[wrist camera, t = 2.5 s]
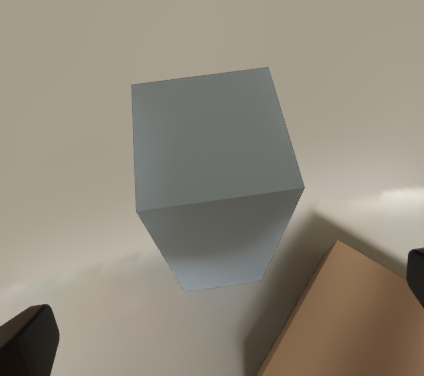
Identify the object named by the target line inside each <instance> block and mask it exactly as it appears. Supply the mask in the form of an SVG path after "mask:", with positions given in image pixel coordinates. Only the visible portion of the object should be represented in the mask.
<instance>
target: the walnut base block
mask: <svg viewBox="0 0 424 376" xmlns="http://www.w3.org/2000/svg"><path fill="white" fill-rule="evenodd" d="M256 376H424V309H423V307H422V306H421V304H420V303H419V301H418V300H417V298H416V297H415V295H414V294H413V292H412V291H411V290H410V288H409V286H408V283H407V280H406V279H404V278H402V277H401V276H399V275H397V274H396V273H394V272H392V271H390V270H389V269H387V268H385V267H384V266H382V265H380V264H378V263H377V262H375V261H373V260H372V259H370V258H368V257H366V256H365V255H363V254H361V253H360V252H358V251H356V250H354V249H353V248H351V247H349V246H348V245H346V244H344V243H343V242H341V241H339V240H337V241H336V242H335V243H334V244H333V245H332V246H331V247H330V248H329V249H328V250H327V251H326V252H325V254H324V256H323V257H322V259H321V261H320V263H319V264H318V266H317V268H316V270H315V272H314V273H313V275H312V277H311V279H310V281H309V282H308V284H307V286H306V288H305V289H304V291H303V293H302V295H301V297H300V298H299V300H298V302H297V304H296V305H295V307H294V309H293V311H292V313H291V314H290V316H289V318H288V320H287V321H286V323H285V325H284V327H283V329H282V330H281V332H280V334H279V336H278V337H277V339H276V341H275V343H274V345H273V346H272V348H271V350H270V352H269V354H268V355H267V357H266V359H265V361H264V362H263V364H262V366H261V368H260V370H259V371H258V373H257V375H256Z"/></svg>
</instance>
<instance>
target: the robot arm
mask: <svg viewBox="0 0 424 376" xmlns="http://www.w3.org/2000/svg"><path fill="white" fill-rule="evenodd" d="M406 278H407V283H408V286H409V288H410V290H411V291H412V292H413V294H414V295H415V297H416V298H417V300H418V301H419V303H420V304H421V306H422V307H423V309H424V248H418V249H412V250H411V251H410V252H409V254H408V262H407V276H406ZM58 343H59V329H58V326H57V323H56V320H55V317H54V314H53V311H52V309H51V307H50V306H49V305H47V304H42V305H36V306H31V307H29V308H27V309H26V310H24V311H23V312H21V313H20V314H18V315H17V316H15V317H14V318H12V319H11V320H9V321H8V322H6V323H5V324H3V325H2V326H0V376H50V374H51V370H52V367H53V363H54V359H55V355H56V351H57V347H58Z"/></svg>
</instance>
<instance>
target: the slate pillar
mask: <svg viewBox="0 0 424 376" xmlns="http://www.w3.org/2000/svg"><path fill="white" fill-rule="evenodd" d="M131 86H132V87H131V88H132V114H133V140H134V169H135V194H136V212H137V214H138V215H139V217H140V219H141V220H142V222H143V224H144V225H145V227H146V229H147V230H148V232H149V234H150V235H151V237H152V239H153V240H154V242H155V244H156V245H157V247H158V249H159V250H160V252H161V254H162V255H163V257H164V258H165V260H166V262H167V263H168V265H169V267H170V268H171V270H172V272H173V273H174V275H175V277H176V278H177V280H178V282H179V283H180V285H181V287H182V288H183V290H184V292H190V291H197V290H203V289H210V288H217V287H223V286H230V285H237V284H243V283H250V282H257V281H261V280H262V278H263V275H264V273H265V271H266V269H267V267H268V265H269V263H270V261H271V258H272V256H273V254H274V252H275V250H276V248H277V246H278V244H279V241H280V239H281V237H282V235H283V233H284V231H285V229H286V227H287V224H288V222H289V220H290V218H291V216H292V214H293V212H294V210H295V207H296V205H297V203H298V201H299V199H300V197H301V195H302V193H303V190H304V188H305V187H304V184H303V180H302V177H301V174H300V171H299V167H298V164H297V161H296V157H295V154H294V150H293V147H292V144H291V141H290V137H289V134H288V131H287V127H286V124H285V121H284V118H283V114H282V111H281V107H280V105H279V101H278V98H277V94H276V91H275V88H274V84H273V81H272V78H271V74H270V71H269V68H268V67H265V68H258V69H250V70H243V71H234V72H227V73H219V74H211V75H203V76H195V77H187V78H180V79H172V80H165V81H156V82H148V83H141V84H133V85H131Z"/></svg>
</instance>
